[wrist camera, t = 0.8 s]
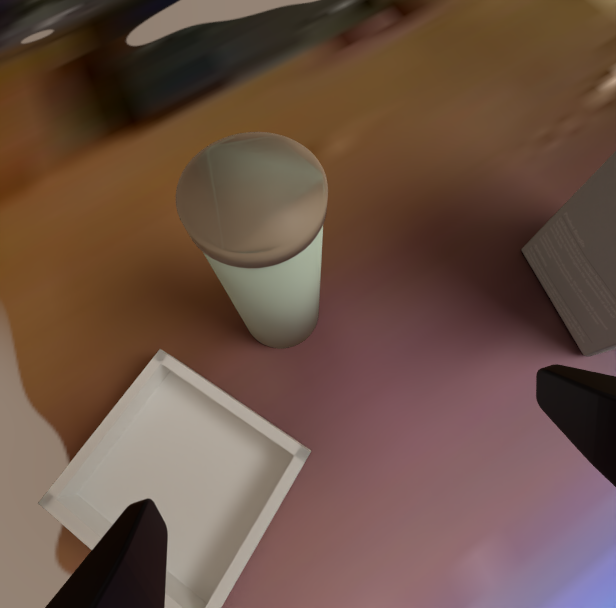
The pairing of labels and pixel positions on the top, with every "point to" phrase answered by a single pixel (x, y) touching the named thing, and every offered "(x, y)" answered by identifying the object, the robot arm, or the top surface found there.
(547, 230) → the skincare box
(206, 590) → the tray
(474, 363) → the top surface
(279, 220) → the peg
